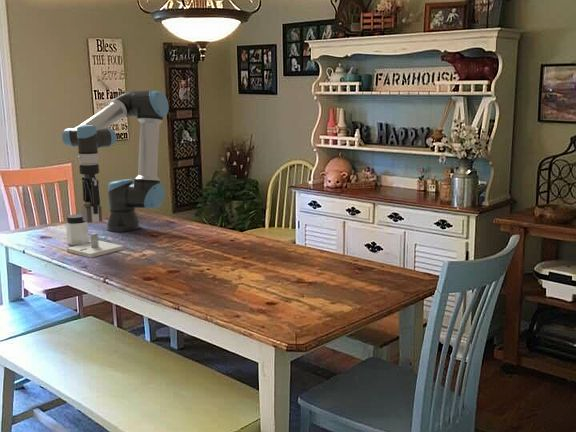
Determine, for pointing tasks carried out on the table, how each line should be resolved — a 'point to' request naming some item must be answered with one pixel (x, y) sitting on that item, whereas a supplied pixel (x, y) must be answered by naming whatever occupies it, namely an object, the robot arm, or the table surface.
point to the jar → (77, 230)
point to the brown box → (89, 212)
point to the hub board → (94, 247)
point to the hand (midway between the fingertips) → (92, 220)
